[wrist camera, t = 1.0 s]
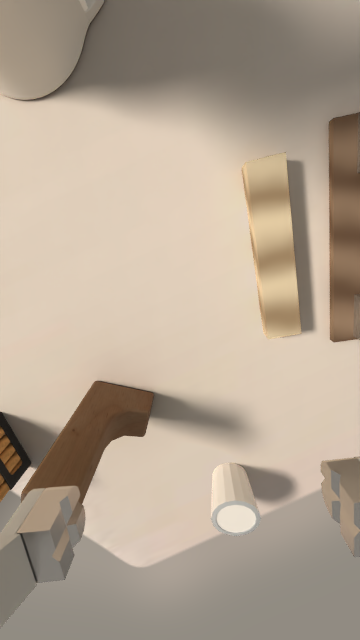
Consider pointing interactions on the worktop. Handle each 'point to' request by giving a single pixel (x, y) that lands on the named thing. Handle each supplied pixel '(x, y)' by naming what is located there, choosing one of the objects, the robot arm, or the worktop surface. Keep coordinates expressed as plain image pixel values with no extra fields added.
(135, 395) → the wooden block
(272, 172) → the pine slat
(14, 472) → the ammunition clip
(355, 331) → the end caps
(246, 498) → the white cylinder
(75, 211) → the worktop surface
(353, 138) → the base board
